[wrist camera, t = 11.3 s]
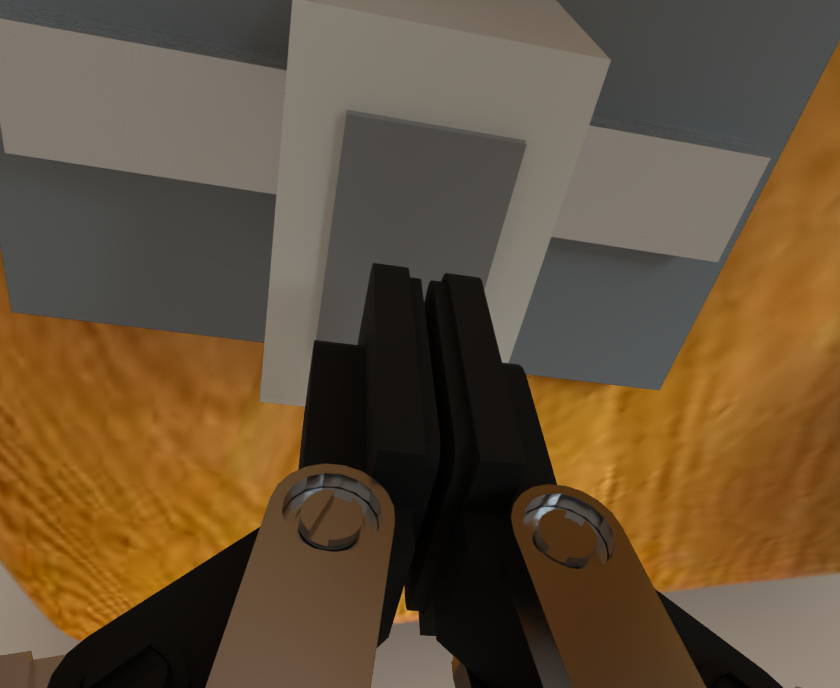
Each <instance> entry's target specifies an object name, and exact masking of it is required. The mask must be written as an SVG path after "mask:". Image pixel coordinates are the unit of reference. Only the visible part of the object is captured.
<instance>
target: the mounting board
mask: <svg viewBox="0 0 840 688" xmlns="http://www.w3.org/2000/svg"><path fill="white" fill-rule="evenodd" d="M556 1H557V2H558V3H559V4H560V5H561V6H562V7H563V9H564V10H565V11H566V12H567V13H568V14H569V15H570V16H571V17H572V18H573V19H574V20H575V21H576V23H577V24H578V25H579V26H580V27H581V28H582V29H583V30H584V31H585V32H586V33H587V34H588V36H589V37H590V38H591V39H592V40H593V41H594V42H595V43H596V44H597V45H598V46H599V47H600V49H601V50H602V51H603V52H604V53H605V54H606V55H607V56H608V57H609V58H610V59H611V62H610V65H609V68H608V71H607V74H606V77H605V80H604V82H603V85H602V88H601V91H600V94H599V97H598V100H597V103H596V106H595V109H594V111H597V112H602V113H608V114H613V115H619V116H624V117H629V118H635V119H640V120H646V121H651V122H657V123H662V124H667V125H673V126H678V127H684V128H689V129H694V130H700V131H705V132H711V133H716V134H721V135H727V136H732V137H738V138H743V139H748V140H751V141H752V142H753V143H754V144H756V145H757V146H758V147H759V148H760V149H761V150H762V151H763V152H764V153H766V154H767V155H768V156H769V157H770V158H771V159H770V161H769V163H768V165H767V167H766V169H765V171H764V172H763V174H762V176H761V178H760V180H759V182H758V184H757V186H756V188H755V190H754V192H753V194H752V196H751V198H750V200H749V202H748V204H747V206H746V208H745V210H744V212H743V214H742V216H741V218H740V220H739V222H738V224H737V226H736V228H735V230H734V232H733V234H732V235H731V237H730V239H729V241H728V243H727V245H726V247H725V249H724V251H723V253H722V255H721V257H720V259H719V261H718V262H712V261H706V260H699V259H693V258H686V257H680V256H673V255H667V254H660V253H654V252H647V251H641V250H634V249H628V248H621V247H615V246H608V245H602V244H595V243H589V242H582V241H576V240H569V239H563V238H556V237H551V239H550V242H549V245H548V248H547V251H546V254H545V257H544V260H543V263H542V266H541V269H540V272H539V275H538V277H537V280H536V283H535V286H534V289H533V292H532V295H531V298H530V301H529V304H528V307H527V310H526V313H525V316H524V319H523V322H522V325H521V328H520V331H519V334H518V337H517V339H516V342H515V345H514V348H513V351H512V354H511V357H510V360H509V363H511V364H519V365H520V366H522V367H523V369H524V371H525V374H528V375H536V376H545V377H553V378H561V379H570V380H578V381H586V382H594V383H603V384H611V385H619V386H628V387H636V388H644V389H652V390H660V388H661V386H662V384H663V382H664V380H665V378H666V376H667V374H668V372H669V370H670V368H671V366H672V365H673V363H674V361H675V359H676V357H677V355H678V353H679V351H680V349H681V347H682V345H683V343H684V341H685V339H686V337H687V335H688V333H689V332H690V330H691V328H692V326H693V324H694V322H695V320H696V318H697V316H698V314H699V312H700V310H701V308H702V306H703V304H704V302H705V300H706V299H707V297H708V295H709V293H710V291H711V289H712V287H713V285H714V283H715V281H716V279H717V277H718V275H719V273H720V271H721V269H722V267H723V266H724V264H725V262H726V260H727V258H728V256H729V254H730V252H731V250H732V248H733V246H734V244H735V242H736V240H737V238H738V236H739V234H740V232H741V231H742V229H743V227H744V225H745V223H746V221H747V219H748V217H749V215H750V213H751V211H752V209H753V207H754V205H755V203H756V201H757V199H758V198H759V196H760V194H761V192H762V190H763V188H764V186H765V184H766V182H767V180H768V178H769V176H770V174H771V172H772V170H773V168H774V166H775V165H776V163H777V161H778V159H779V157H780V155H781V153H782V151H783V149H784V147H785V145H786V143H787V141H788V139H789V137H790V135H791V133H792V131H793V130H794V128H795V126H796V124H797V122H798V120H799V118H800V116H801V114H802V112H803V110H804V108H805V106H806V104H807V102H808V100H809V98H810V97H811V95H812V93H813V91H814V89H815V87H816V85H817V83H818V81H819V79H820V77H821V75H822V73H823V71H824V69H825V67H826V65H827V64H828V62H829V60H830V58H831V56H832V54H833V52H834V50H835V48H836V46H837V44H838V42H839V40H840V0H556ZM6 3H13V4H18V5H23V6H29V7H34V8H40V9H45V10H51V11H56V12H61V13H67V14H72V15H78V16H83V17H88V18H94V19H99V20H105V21H110V22H115V23H121V24H126V25H132V26H137V27H143V28H148V29H153V30H159V31H164V32H170V33H175V34H180V35H186V36H191V37H197V38H202V39H207V40H213V41H218V42H224V43H229V44H234V45H240V46H245V47H251V48H256V49H262V50H267V51H272V52H278V53H283V54H288V48H289V36H290V24H291V11H292V0H0V6H2V5H4V4H6ZM275 207H276V194H270V193H263V192H257V191H250V190H244V189H237V188H231V187H224V186H218V185H211V184H204V183H198V182H191V181H185V180H178V179H172V178H165V177H159V176H152V175H146V174H139V173H133V172H126V171H120V170H113V169H107V168H100V167H94V166H87V165H81V164H74V163H68V162H61V161H55V160H48V159H42V158H35V157H29V156H22V155H16V154H9V153H5V151H4V144H3V138H2V131H1V124H0V246H1V252H2V258H3V264H4V270H5V276H6V282H7V288H8V294H9V300H10V306H11V312H15V313H23V314H31V315H39V316H48V317H56V318H64V319H73V320H81V321H89V322H97V323H106V324H114V325H122V326H131V327H139V328H147V329H155V330H164V331H172V332H180V333H188V334H197V335H205V336H213V337H222V338H230V339H238V340H246V341H255V342H263V343H264V342H265V329H266V317H267V305H268V293H269V280H270V268H271V256H272V244H273V232H274V219H275Z"/></svg>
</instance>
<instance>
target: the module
mask: <svg viewBox="0 0 840 688" xmlns="http://www.w3.org/2000/svg"><path fill="white" fill-rule="evenodd" d="M610 62H611V59H610V58H609V57H608V56H607V55H606V54H605V53H604V52H603V51H602V50H601V49H600V47H599V46H598V45H597V44H596V43H595V42H594V41H593V40H592V39H591V38H590V37H589V36H588V34H587V33H586V32H585V31H584V30H583V29H582V28H581V27H580V26H579V25H578V24H577V23H576V21H575V20H574V19H573V18H572V17H571V16H570V15H569V14H568V13H567V12H566V11H565V10H564V9H563V7H562V6H561V5H560V4H559V3H558V2H557V1H556V0H292V11H291V24H290V36H289V48H288V60H287V73H286V85H285V97H284V109H283V121H282V134H281V146H280V158H279V170H278V183H277V195H276V207H275V219H274V232H273V244H272V256H271V268H270V280H269V293H268V305H267V317H266V329H265V342H264V354H263V366H262V378H261V391H260V402H266V403H276V404H285V405H295V406H304V407H305V404H306V396H307V388H308V380H309V373H310V365H311V358H312V351H313V344H314V340H319V341H327V342H336V343H344V344H352V345H357V344H358V338H359V332H360V327H361V321H362V316H363V310H364V305H365V299H366V294H367V288H368V283H369V277H370V272H371V268H372V264H373V263H379V264H386V265H393V266H400V267H408V268H409V273H410V277H412V278H419V279H421V281H422V290H423V298H424V301H425V297H426V292H427V288H428V285H429V282H430V281H431V280H434V281H441V280H442V278H443V275H444V274H445V273H451V274H458V275H465V276H472V277H479V278H481V280H482V283H483V287H484V291H485V295H486V300H487V304H488V308H489V312H490V316H491V320H492V324H493V328H494V332H495V336H496V340H497V344H498V348H499V352H500V356H501V360H502V363H509V360H510V357H511V354H512V351H513V348H514V345H515V342H516V339H517V337H518V334H519V331H520V328H521V325H522V322H523V319H524V316H525V313H526V310H527V307H528V304H529V301H530V298H531V295H532V292H533V289H534V286H535V283H536V280H537V277H538V275H539V272H540V269H541V266H542V263H543V260H544V257H545V254H546V251H547V248H548V245H549V242H550V239H551V236H552V233H553V230H554V227H555V224H556V221H557V218H558V215H559V212H560V210H561V207H562V204H563V201H564V198H565V195H566V192H567V189H568V186H569V183H570V180H571V177H572V174H573V171H574V168H575V165H576V162H577V159H578V156H579V153H580V150H581V147H582V145H583V142H584V139H585V136H586V133H587V130H588V127H589V124H590V121H591V118H592V115H593V112H594V109H595V106H596V103H597V100H598V97H599V94H600V91H601V88H602V85H603V82H604V80H605V77H606V74H607V71H608V68H609V65H610Z"/></svg>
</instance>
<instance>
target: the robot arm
mask: <svg viewBox="0 0 840 688" xmlns="http://www.w3.org/2000/svg"><path fill="white" fill-rule="evenodd" d="M404 586H405V603H406V608H407V610H412V611H419V624H420V635H426V636H436V639H437V641H438V642H439V643H440V644H441V645H442V646H444V647H445V648H446V649H447V650H448V651H449V652H450V653H451V654H452V655H453V660H452V672H453V679H454V684H455V687H456V688H783V687H782V686H781V685H780V684H779V683H778V682H776V681H775V680H774V679H773V678H772V677H771V676H770V675H769V674H768V673H767V672H765V671H764V670H763V669H762V668H760V667H759V666H757V665H756V664H755V663H753V662H752V661H750V660H749V659H748V658H747V657H745V656H744V655H743V654H741V653H740V652H739V651H737V650H736V649H735V648H733V647H732V646H731V645H729V644H728V643H727V642H725V641H724V640H723V639H721V638H720V637H719V636H717V635H716V634H715V633H713V632H712V631H710V630H709V629H708V628H707V627H705V626H704V625H703V624H701V623H700V622H698V621H697V620H696V619H695V618H693V617H692V616H691V615H689V614H688V613H686V612H685V611H684V610H683V609H681V608H680V607H679V606H677V605H676V604H675V603H673V602H672V601H671V600H669V599H668V598H666V597H665V596H664V595H662V594H661V593H660V592H658V591H657V590H656V589H654V587H653V585H652V583H651V581H650V579H649V577H648V575H647V573H646V572H645V570H644V568H643V566H642V564H641V562H640V560H639V558H638V556H637V554H636V552H635V551H634V549H633V547H632V545H631V543H630V541H629V539H628V537H627V535H626V533H625V532H624V530H623V528H622V526H621V525H620V523H619V522H618V520H617V519H616V518H615V516H614V515H613V513H612V512H611V511H609V510H608V509H607V508H606V507H605V506H604V505H603V504H602V503H601V502H599V501H598V500H596V499H595V498H593V497H591V496H589V495H588V494H586V493H584V492H583V491H580V490H577V489H574V488H571V487H568V486H562V485H557V483H556V479H555V476H554V472H553V469H552V465H551V462H550V458H549V455H548V451H547V448H546V444H545V441H544V437H543V434H542V430H541V426H540V423H539V419H538V416H537V412H536V409H535V405H534V402H533V398H532V395H531V391H530V388H529V384H528V381H527V377H526V374H525V371H524V369H523V367H522V366H520V365H519V364H511V363H502V360H501V356H500V352H499V348H498V344H497V340H496V336H495V332H494V328H493V324H492V320H491V316H490V312H489V308H488V304H487V300H486V295H485V291H484V287H483V283H482V280H481V278H479V277H472V276H465V275H458V274H451V273H445V274H444V275H443V278H442V280H441V281H434V280H431V281H430V282H429V285H428V288H427V292H426V297H425V301H424V298H423V290H422V281H421V279H419V278H412V277H410V273H409V268H408V267H400V266H393V265H386V264H379V263H373V264H372V268H371V272H370V277H369V283H368V288H367V294H366V299H365V305H364V310H363V316H362V321H361V327H360V332H359V338H358V344H357V345H352V344H344V343H336V342H327V341H319V340H314V344H313V351H312V358H311V365H310V373H309V380H308V388H307V396H306V404H305V412H304V421H303V430H302V440H301V450H300V460H299V470H297V471H295V472H293V473H291V474H289V475H288V476H287V477H286V478H285V479H283V480H282V481H281V482H280V483H279V484H278V485H277V487H276V488H275V490H274V492H273V494H272V495H271V497H270V500H269V503H268V506H267V509H266V511H265V514H264V517H263V520H262V523H261V526H260V527H259V528H257V529H256V530H254V531H253V532H251V533H250V534H248V535H246V536H245V537H243V538H242V539H240V540H239V541H237V542H235V543H234V544H232V545H231V546H229V547H228V548H226V549H224V550H223V551H221V552H220V553H218V554H217V555H215V556H213V557H212V558H210V559H209V560H207V561H206V562H204V563H202V564H201V565H199V566H198V567H196V568H195V569H193V570H191V571H190V572H188V573H187V574H185V575H184V576H182V577H181V578H179V579H177V580H176V581H174V582H173V583H171V584H170V585H168V586H166V587H165V588H163V589H162V590H160V591H159V592H157V593H155V594H154V595H152V596H151V597H149V598H148V599H146V600H144V601H143V602H141V603H140V604H138V605H137V606H135V607H133V608H132V609H130V610H129V611H127V612H126V613H124V614H122V615H121V616H119V617H118V618H116V619H115V620H113V621H111V622H110V623H108V624H107V625H105V626H104V627H102V628H100V629H99V630H97V631H96V632H94V633H93V634H91V635H90V636H88V637H87V638H85V639H84V640H83V641H82V642H80V643H79V644H78V645H77V646H76V647H74V648H73V649H72V650H71V651H70V652H68V653H67V654H66V655H61V656H54V657H48V658H42V659H36V660H33V657H32V652H31V651H27V652H21V653H14V654H8V655H1V656H0V688H371V682H372V675H373V669H374V661H375V655H376V649H377V647H378V646H379V645H381V644H382V642H384V641H385V640H386V639H387V638H388V637H389V634H390V630H391V627H392V624H393V620H394V617H395V614H396V610H397V607H398V604H399V600H400V597H401V594H402V590H403V587H404ZM796 688H800V687H796Z"/></svg>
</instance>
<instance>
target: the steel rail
mask: <svg viewBox="0 0 840 688" xmlns="http://www.w3.org/2000/svg"><path fill="white" fill-rule="evenodd" d="M287 60H288V54H283V53H278V52H272V51H267V50H262V49H256V48H251V47H245V46H240V45H234V44H229V43H224V42H218V41H213V40H207V39H202V38H197V37H191V36H186V35H180V34H175V33H170V32H164V31H159V30H153V29H148V28H143V27H137V26H132V25H126V24H121V23H115V22H110V21H105V20H99V19H94V18H88V17H83V16H78V15H72V14H67V13H61V12H56V11H51V10H45V9H40V8H34V7H29V6H23V5H18V4H13V3H6V4H4V5H2V6H0V124H1V131H2V138H3V144H4V151H5V153H9V154H16V155H22V156H29V157H35V158H42V159H48V160H55V161H61V162H68V163H74V164H81V165H87V166H94V167H100V168H107V169H113V170H120V171H126V172H133V173H139V174H146V175H152V176H159V177H165V178H172V179H178V180H185V181H191V182H198V183H204V184H211V185H218V186H224V187H231V188H237V189H244V190H250V191H257V192H263V193H270V194H276V195H277V183H278V170H279V158H280V146H281V134H282V121H283V109H284V97H285V85H286V73H287ZM770 159H771V158H770V157H769V156H768V155H767V154H766V153H764V152H763V151H762V150H761V149H760V148H759V147H758V146H757V145H756V144H754V143H753V142H752V141H751V140H748V139H743V138H738V137H732V136H727V135H721V134H716V133H711V132H705V131H700V130H694V129H689V128H684V127H678V126H673V125H667V124H662V123H657V122H651V121H646V120H640V119H635V118H629V117H624V116H619V115H613V114H608V113H602V112H597V111H594V112H593V115H592V118H591V121H590V124H589V127H588V130H587V133H586V136H585V139H584V142H583V145H582V147H581V150H580V153H579V156H578V159H577V162H576V165H575V168H574V171H573V174H572V177H571V180H570V183H569V186H568V189H567V192H566V195H565V198H564V201H563V204H562V207H561V210H560V212H559V215H558V218H557V221H556V224H555V227H554V230H553V233H552V236H551V237H556V238H563V239H569V240H576V241H582V242H589V243H595V244H602V245H608V246H615V247H621V248H628V249H634V250H641V251H647V252H654V253H660V254H667V255H673V256H680V257H686V258H693V259H699V260H706V261H712V262H718V261H719V259H720V257H721V255H722V253H723V251H724V249H725V247H726V245H727V243H728V241H729V239H730V237H731V235H732V234H733V232H734V230H735V228H736V226H737V224H738V222H739V220H740V218H741V216H742V214H743V212H744V210H745V208H746V206H747V204H748V202H749V200H750V198H751V196H752V194H753V192H754V190H755V188H756V186H757V184H758V182H759V180H760V178H761V176H762V174H763V172H764V171H765V169H766V167H767V165H768V163H769V161H770Z"/></svg>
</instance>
